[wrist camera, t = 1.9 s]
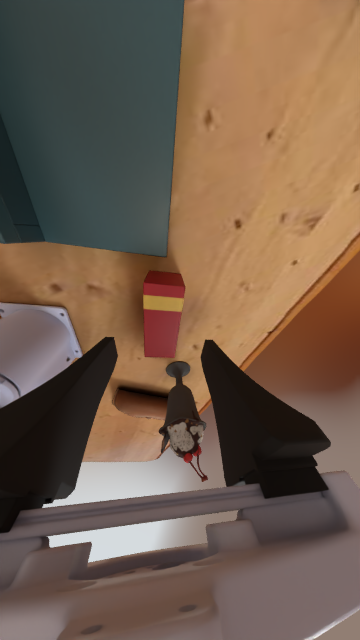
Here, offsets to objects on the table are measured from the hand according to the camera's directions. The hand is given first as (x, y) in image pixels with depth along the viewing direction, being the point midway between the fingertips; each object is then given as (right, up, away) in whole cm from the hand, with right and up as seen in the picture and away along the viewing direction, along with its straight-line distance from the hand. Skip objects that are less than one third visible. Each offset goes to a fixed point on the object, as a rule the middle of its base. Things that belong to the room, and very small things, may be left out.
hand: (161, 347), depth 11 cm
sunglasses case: (-5, -18, +22) cm, 29 cm away
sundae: (+1, -8, +17) cm, 18 cm away
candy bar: (-1, +4, +9) cm, 9 cm away
